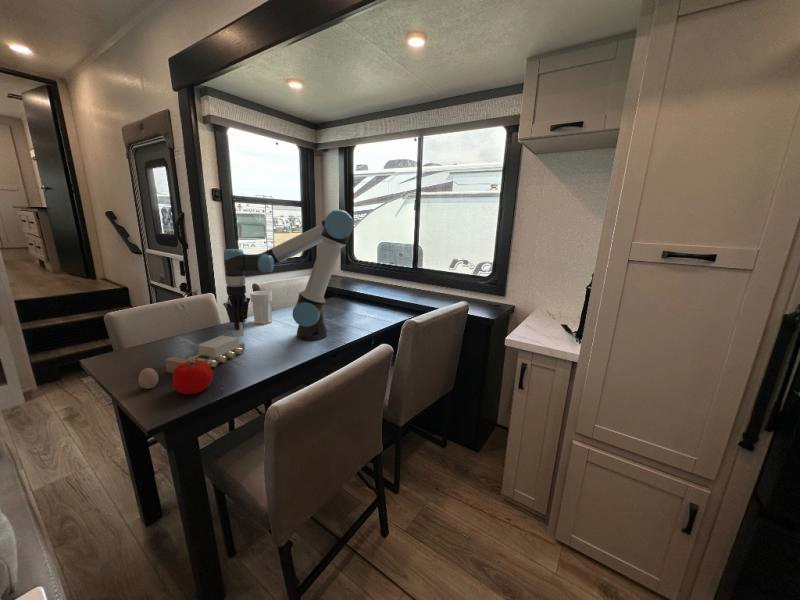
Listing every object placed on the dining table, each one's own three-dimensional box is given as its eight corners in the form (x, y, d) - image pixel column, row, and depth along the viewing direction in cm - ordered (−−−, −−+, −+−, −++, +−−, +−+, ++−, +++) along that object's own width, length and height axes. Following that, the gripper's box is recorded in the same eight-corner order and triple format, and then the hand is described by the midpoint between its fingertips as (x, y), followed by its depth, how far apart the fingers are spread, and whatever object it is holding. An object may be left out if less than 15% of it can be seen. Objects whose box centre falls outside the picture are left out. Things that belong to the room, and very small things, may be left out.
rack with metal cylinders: (250, 351, 140) (249, 340, 139) (195, 378, 115) (194, 365, 114) (225, 346, 144) (224, 336, 143) (167, 371, 119) (165, 359, 117)
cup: (259, 318, 185) (257, 290, 181) (277, 320, 184) (275, 291, 180) (248, 324, 175) (245, 294, 170) (267, 326, 173) (265, 295, 169)
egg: (153, 392, 105) (149, 371, 103) (136, 392, 104) (132, 371, 103) (163, 384, 110) (160, 364, 108) (147, 384, 110) (143, 364, 108)
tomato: (165, 394, 103) (160, 365, 101) (197, 379, 114) (194, 352, 112) (190, 402, 99) (186, 373, 97) (222, 386, 110) (219, 358, 107)
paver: (239, 346, 137) (238, 338, 136) (216, 357, 125) (215, 347, 124) (222, 343, 139) (221, 335, 138) (198, 354, 128) (197, 344, 127)
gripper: (240, 281, 145) (244, 330, 150) (216, 286, 133) (221, 339, 138) (254, 283, 142) (257, 332, 148) (230, 288, 130) (234, 341, 136)
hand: (239, 335), depth 143 cm, fingers closed
